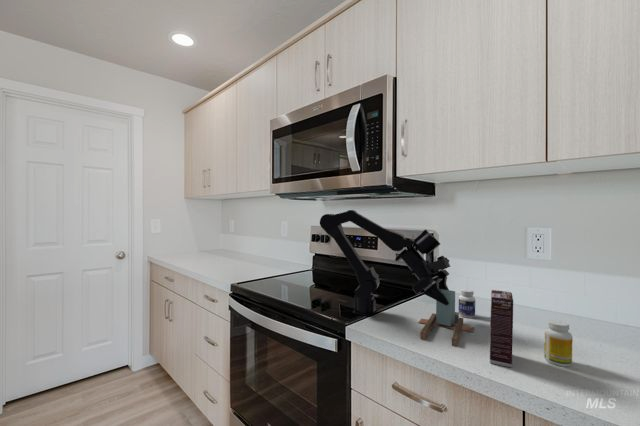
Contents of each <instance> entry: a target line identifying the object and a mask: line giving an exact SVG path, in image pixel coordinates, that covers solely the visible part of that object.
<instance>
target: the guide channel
mask: <svg viewBox="0 0 640 426" xmlns="http://www.w3.org/2000/svg"><path fill="white" fill-rule="evenodd" d="M418 324H423V325H424V326H423V328H422V329H421V331H420V338H419V339H420V340H422V341H425V340H426V339H427V337H428V336H429V333H430V332H431V330H432V328H433V326H434V327H439V328H445V329H451V330H454V331H453V334H452V336H451V347H452V346H453V347H457V346H458V342H459V340H460V336H461V333H462V332H467V333H468V332H469V333H474V331H475V327H474V326H469V325H464V317H460V315H459V313H458V311H455V323H454V324H453V325H452V326H446V325H442V324H438V323H436V313H433V312H432V314H431V315H430V316H429V318H428V319H427V318H420V319H419V320H418Z"/></svg>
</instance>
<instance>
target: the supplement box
mask: <svg viewBox="0 0 640 426" xmlns="http://www.w3.org/2000/svg"><path fill="white" fill-rule="evenodd" d="M512 293H513V292H510V291H503V290H496V289H495V290H494V289H491V297H490V298H491V300H490V301H491V304H490V326H489V327H490V328H489V331H490V332H489V363H490V364H492V365H493V364H494V365H497V366H502V367H506V368H513V335H514V334H513V331H514V299H513V294H512Z"/></svg>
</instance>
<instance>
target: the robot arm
mask: <svg viewBox="0 0 640 426" xmlns="http://www.w3.org/2000/svg"><path fill="white" fill-rule="evenodd" d="M348 222H351V223H352V224H354V225H355V226H358V227H360V228H361V229H363V230H364V231H366V232H368V233H370V234H371V235H373V236H375V237H376V238H378V240H380V241H381V242H382V243H383V244H384V245H386V246H387V247H388V248H389V249H390V250H391V251H394V252H397V253H395V259H394V261H395V262H401V261H403V262H404V264H405V265H406V266H407V267H408V269H409V270H410V272H409V273H410V274H411V275H415V277H416V278H417V279H418V281H417V282H415V283H414V284H413V285H412V291H413V292H414V293H415V295H416V296H417V295H419V294H422V295H425V296H427V297H429V298H431V299H433V300H435V301H436V300H437V301H439V302H441V303H442V304H444V305H448V304H449V302H448V301H447V299H446V298H445V296H444V295H443V293H442V292H441V290H440V289H444V290H450V289H449V287H448V285H447V279H448V276H449V275H450V272H448V271H447V270H446V269H449V268H450V267H451V264H450V259H448V258H447V257H445V256H444V255H440V256H438V257H437V258H436V259H437V260H435V261H432V262H431V261H430V260H429V259H427V260H425V258H424V257H423V256H422V255H427V256H428V255H430V254H431V252H433V251H434V250H436V249H437V248H438V247H439V246H440V245H441V243H440V241H439V240H438V239H437V238H436V237H435V236H434V235H432V234H431V232H429V231H428V230H427V229H424V230H422V232H421V233H420V234H418V236H417V237H415V238H414V239H413V238H409V237H405V235H404V234H402V233H399V232H396V231H394V230H391V229H389V228H385V227H383V226H381V225H380V224H378V223H376V222H374V221H373V220H371V219H369V218H367V217H365V216H363V215H362V214H360V213H359V212H357V211H356V210H354V209H350V210H347V211H343V212H340V213H339V212H338V213H335V214H334V213H326V214H323V215H321V217H320V219H319V225H320V227H321V228H322V230H323V231H324V232H325V233H326V234H327V235H329V236H330V237H331V238H332V239H333V240H334V241H335V243H336V244H337V246H338V247H339V249H340V250H341V252H342V254H343V255H344V257H346V258H345V259H346V260H347V261H348V263H349V265H350V266H351V267H352V269H353V270H354V273H355V275H356V279H357V281H358V284H359V285H358V286H357V288H356V289H355V290H354V291H353V292H354V310H352V314H356V315H362V316H367V315H368V317H371V316H372V315H373V314H375V313H376V312H377V310H376V308H377V305H376V303H377V300H376V299H375V294H374V293H375V292H376V291H377V289H378V287H379V285H380V278H379V277H380V275H379V274H378V273H377V272H376V270H375V268H374V266H372V267H368V265H366V264H365V262H364V261H363V259H362V258H361V256H360V255H359V253H358V252H357V250H356V249H355V247H354V246H353V245H352V242H351V241H350V240H349V238H348V237H347V236H346V234H345V231H344V229H343V226H342V224H346V223H348ZM399 251H401V252H400V253H398V252H399ZM423 290H424V291H423ZM422 291H423V292H422ZM421 292H422V293H421ZM375 311H376V312H375ZM372 313H373V314H372ZM371 314H372V315H371ZM370 315H371V316H370Z"/></svg>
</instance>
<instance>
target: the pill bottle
mask: <svg viewBox="0 0 640 426" xmlns="http://www.w3.org/2000/svg"><path fill="white" fill-rule="evenodd" d="M457 312H458V313H459V317H461V318H465V319H466V318H467V319H472V318H473V319H474V318H475V317H476V297H474V290H473V289H470V288H469V289H468V288H462V289H460V295H459V296H458V311H457Z"/></svg>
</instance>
